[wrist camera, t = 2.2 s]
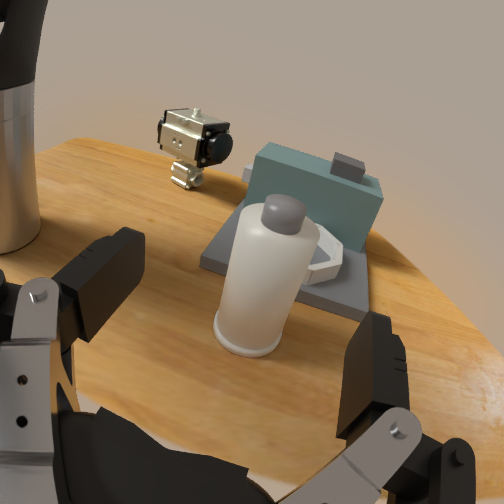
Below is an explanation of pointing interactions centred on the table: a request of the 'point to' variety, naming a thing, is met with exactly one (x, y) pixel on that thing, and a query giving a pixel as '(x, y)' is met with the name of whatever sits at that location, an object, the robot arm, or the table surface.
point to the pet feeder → (323, 215)
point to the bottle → (264, 274)
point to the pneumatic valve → (193, 143)
